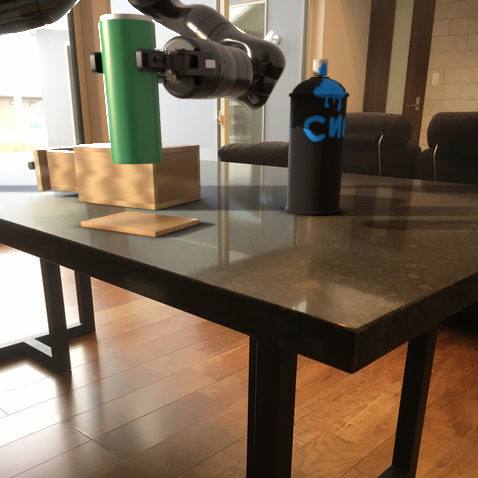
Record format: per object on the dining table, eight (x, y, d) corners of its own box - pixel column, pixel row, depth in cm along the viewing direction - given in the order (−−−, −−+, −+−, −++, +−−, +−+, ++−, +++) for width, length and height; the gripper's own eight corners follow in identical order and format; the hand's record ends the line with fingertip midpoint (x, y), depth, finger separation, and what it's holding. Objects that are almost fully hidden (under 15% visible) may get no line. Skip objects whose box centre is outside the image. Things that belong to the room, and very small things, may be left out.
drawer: (21, 189, 91) (15, 148, 88) (69, 182, 99) (64, 145, 97) (100, 197, 82) (96, 152, 79) (145, 189, 91) (142, 148, 88)
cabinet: (79, 201, 84) (72, 145, 81) (129, 192, 93) (125, 142, 90) (155, 210, 77) (151, 149, 73) (201, 199, 86) (199, 144, 83)
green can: (100, 163, 63) (85, 16, 57) (134, 158, 68) (124, 23, 62) (140, 165, 60) (129, 11, 54) (172, 160, 65) (165, 19, 59)
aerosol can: (274, 208, 78) (278, 60, 71) (319, 204, 82) (327, 63, 74) (305, 217, 71) (313, 55, 64) (352, 212, 75) (365, 58, 67)
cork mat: (80, 226, 66) (80, 221, 65) (128, 215, 73) (128, 210, 73) (155, 237, 60) (155, 232, 60) (199, 223, 67) (199, 219, 67)
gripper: (156, 42, 73) (65, 27, 60) (245, 35, 66) (165, 17, 53) (159, 99, 76) (73, 98, 62) (245, 98, 69) (169, 96, 56)
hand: (115, 61), depth 58 cm, fingers closed on green can, 6 cm apart
